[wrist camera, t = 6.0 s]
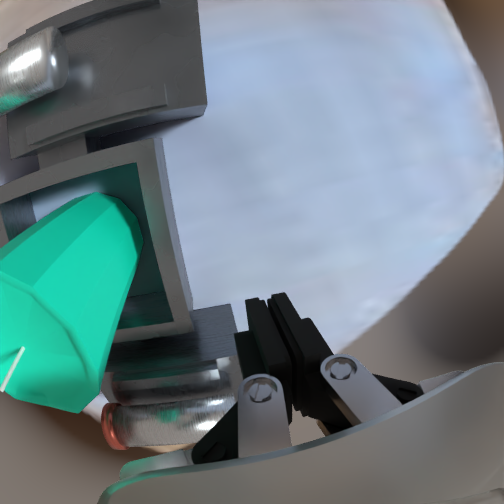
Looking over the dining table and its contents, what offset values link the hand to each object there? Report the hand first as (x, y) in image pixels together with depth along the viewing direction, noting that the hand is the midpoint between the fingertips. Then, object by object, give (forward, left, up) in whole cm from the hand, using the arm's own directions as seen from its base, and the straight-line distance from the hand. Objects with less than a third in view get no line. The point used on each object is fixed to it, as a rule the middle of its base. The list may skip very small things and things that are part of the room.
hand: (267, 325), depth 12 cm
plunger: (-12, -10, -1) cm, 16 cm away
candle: (-3, -9, -7) cm, 11 cm away
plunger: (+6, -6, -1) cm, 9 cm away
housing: (-3, -7, -7) cm, 10 cm away
